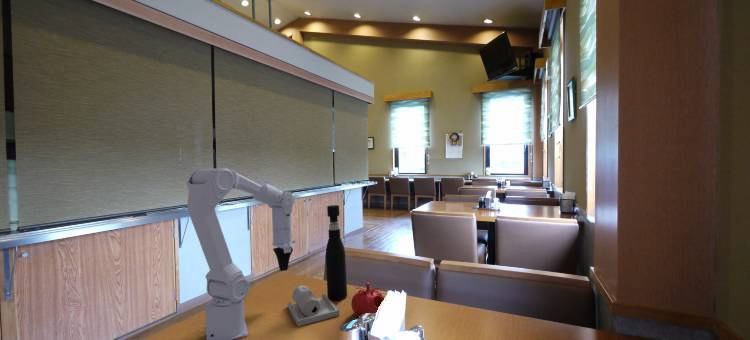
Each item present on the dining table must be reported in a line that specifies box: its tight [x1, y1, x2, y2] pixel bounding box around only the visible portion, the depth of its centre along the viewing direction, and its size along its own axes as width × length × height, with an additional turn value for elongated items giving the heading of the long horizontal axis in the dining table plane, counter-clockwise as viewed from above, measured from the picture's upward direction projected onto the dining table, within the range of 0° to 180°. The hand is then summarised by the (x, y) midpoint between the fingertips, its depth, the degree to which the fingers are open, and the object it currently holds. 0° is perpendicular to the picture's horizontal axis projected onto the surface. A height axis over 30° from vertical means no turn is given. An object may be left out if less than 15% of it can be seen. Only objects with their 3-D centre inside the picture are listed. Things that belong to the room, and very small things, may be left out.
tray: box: [286, 293, 340, 327], centre depth 96 cm, size 12×14×2 cm
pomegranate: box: [350, 282, 386, 318], centre depth 92 cm, size 10×10×9 cm
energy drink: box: [292, 285, 320, 317], centre depth 97 cm, size 5×5×12 cm
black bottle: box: [325, 204, 348, 302], centre depth 105 cm, size 6×6×30 cm
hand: (283, 270), depth 103 cm, fingers closed
